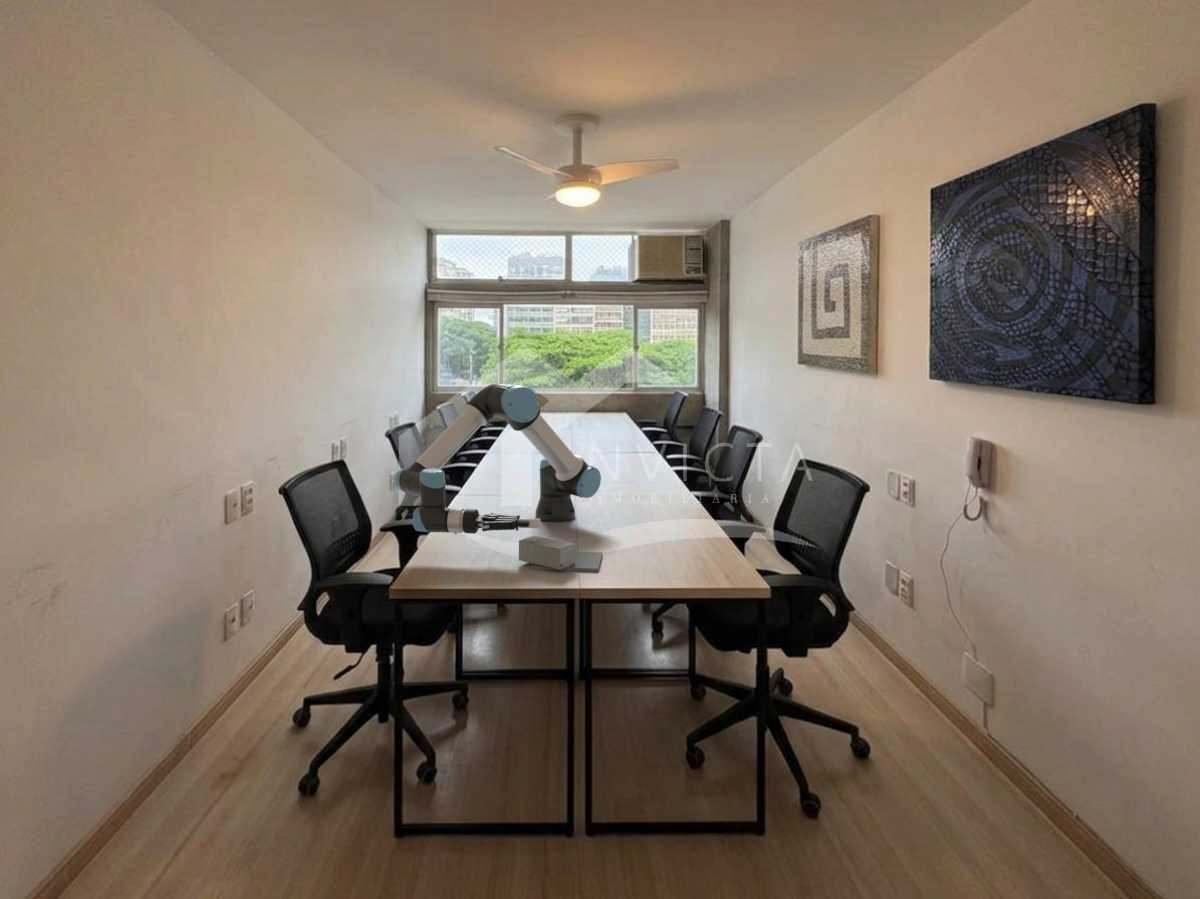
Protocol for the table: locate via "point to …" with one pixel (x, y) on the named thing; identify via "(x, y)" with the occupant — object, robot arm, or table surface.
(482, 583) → the table surface
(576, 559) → the slate mat
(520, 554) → the skincare box
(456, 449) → the robot arm
